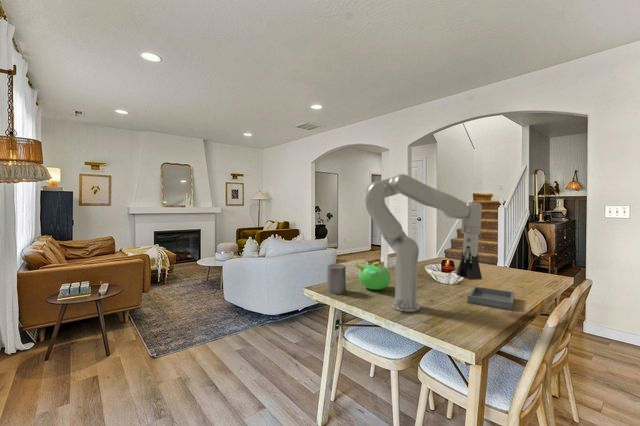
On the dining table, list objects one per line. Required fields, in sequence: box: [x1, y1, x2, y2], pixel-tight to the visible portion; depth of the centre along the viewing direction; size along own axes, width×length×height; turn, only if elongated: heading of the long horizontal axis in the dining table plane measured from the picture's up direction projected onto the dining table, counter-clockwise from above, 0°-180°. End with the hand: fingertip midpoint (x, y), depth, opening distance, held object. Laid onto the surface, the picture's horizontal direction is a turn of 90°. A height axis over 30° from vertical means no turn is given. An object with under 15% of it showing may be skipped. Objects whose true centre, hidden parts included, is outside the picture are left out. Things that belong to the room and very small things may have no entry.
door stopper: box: [455, 250, 483, 281], centre depth 135 cm, size 9×6×12 cm, turn 14°
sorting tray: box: [467, 286, 515, 312], centre depth 147 cm, size 20×18×4 cm
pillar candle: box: [326, 263, 347, 295], centre depth 160 cm, size 10×10×15 cm
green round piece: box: [353, 261, 392, 291], centre depth 165 cm, size 18×17×15 cm
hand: (468, 270), depth 135 cm, fingers closed on door stopper, 5 cm apart
